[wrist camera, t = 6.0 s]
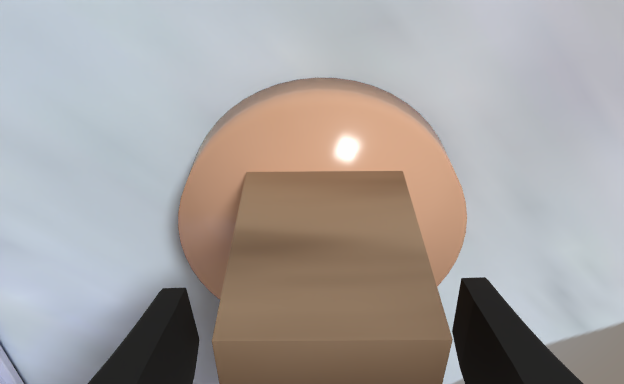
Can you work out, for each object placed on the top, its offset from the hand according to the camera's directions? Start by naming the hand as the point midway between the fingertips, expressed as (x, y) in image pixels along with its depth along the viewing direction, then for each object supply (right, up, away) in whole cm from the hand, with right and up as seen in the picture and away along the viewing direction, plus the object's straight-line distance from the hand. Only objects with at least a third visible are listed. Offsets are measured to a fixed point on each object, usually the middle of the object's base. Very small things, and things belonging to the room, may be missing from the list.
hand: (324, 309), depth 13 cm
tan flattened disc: (0, +3, +4) cm, 5 cm away
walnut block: (0, +2, +2) cm, 3 cm away
